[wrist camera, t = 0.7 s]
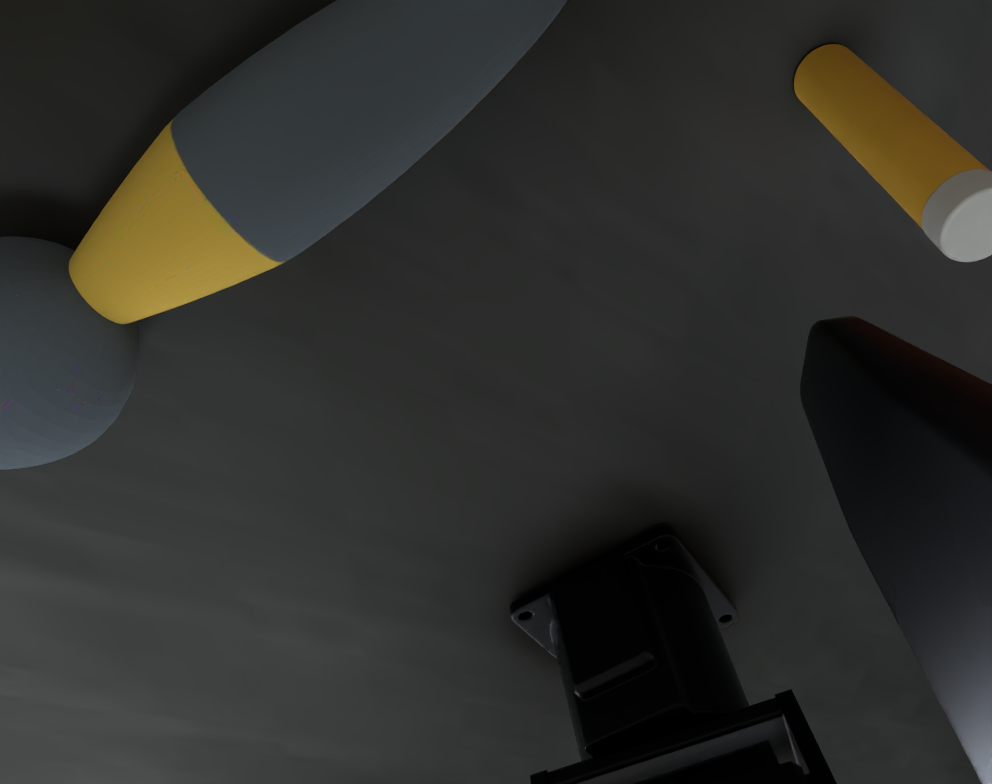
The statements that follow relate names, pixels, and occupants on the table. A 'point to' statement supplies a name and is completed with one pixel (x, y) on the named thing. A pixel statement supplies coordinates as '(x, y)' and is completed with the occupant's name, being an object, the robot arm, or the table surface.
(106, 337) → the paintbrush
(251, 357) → the table surface
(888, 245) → the table surface
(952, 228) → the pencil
